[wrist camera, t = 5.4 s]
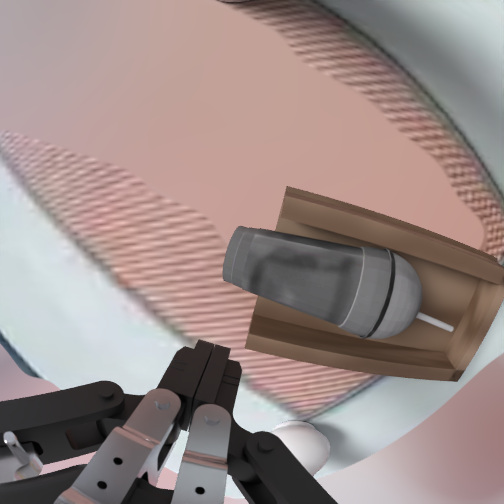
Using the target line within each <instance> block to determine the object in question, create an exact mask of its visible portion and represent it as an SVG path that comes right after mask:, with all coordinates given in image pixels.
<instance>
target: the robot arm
mask: <svg viewBox="0 0 504 504" xmlns="http://www.w3.org/2000/svg"><path fill="white" fill-rule="evenodd" d="M218 1H225V2H243V1H250V0H218ZM230 350H231V348H227V347H223V346H220V345H216V344H215V347H214V344H213V343H209V342H206V341H203V340H198V342H197V344H196V346H195V348H194V349H192V348H189V347H186V346H185V347H183V348H182V349H180V350H178V351H177V352H176V354H175V356H174V358H173V360H172V361H171V363H170V365H169V367H168V368H167V370H166V372H165V374H164V375H163V377H162V379H161V381H160V383H159V384H158V386H157V388H156V389H153V390H151V391H149V392H148V393H147V394H146V395H131V394H124V392H123V390H122V388H121V387H120V386H119V385H117V384H116V383H114V382H111V381H99V382H95V383H91V384H87V385H82V386H78V387H74V388H70V389H65V390H60V391H56V392H51V393H46V394H41V395H36V396H31V397H25V398H19V399H14V400H8V401H1V402H0V504H223V503H224V496H225V487H226V479H227V474H229V475H230V476H232V479H233V481H234V483H235V484H236V486H237V487H238V489H239V490H240V491H241V493H242V494H243V496H244V497H245V499H246V500H247V501H248V503H249V504H338V503H337V502H336V501H335V500H334V499H333V498H332V497H331V496H330V495H329V494H328V493H327V492H326V491H325V490H324V489H323V488H322V486H321V485H320V484H319V483H318V482H317V481H316V480H315V479H314V478H313V476H312V475H311V474H310V473H309V472H308V471H307V470H306V469H305V467H304V466H303V465H302V464H301V463H300V462H299V461H298V459H297V458H296V457H295V456H294V455H293V454H292V452H291V451H290V450H289V449H288V448H287V446H286V445H285V444H284V443H283V442H282V440H281V439H280V438H279V437H278V436H276V435H274V434H272V433H270V432H265V431H260V432H255V433H253V434H252V433H251V432H249V431H247V430H245V429H243V428H241V427H240V426H239V425H238V424H237V423H236V422H235V420H234V418H233V408H234V404H235V399H236V395H237V391H238V386H239V382H240V378H241V373H242V369H241V366H240V363H239V362H237V361H233V360H229V359H228V358H229V354H230ZM189 424H190V425H189ZM188 427H189V431H188V432H189V436H188V440H187V444H186V448H185V452H184V454H183V457H182V461H181V465H180V469H179V473H178V477H177V481H176V485H175V489H174V490H168V489H160V488H157V487H156V485H157V481H158V478H159V475H160V473H161V471H162V469H163V467H164V465H165V463H166V461H167V460H168V458H169V456H170V454H171V452H172V450H173V448H174V446H175V444H176V440H177V439H178V436H179V434H180V431H181V430H184V431H187V429H188ZM95 451H97V452H96V454H95V455H94V456H93V458H92V459H91V460H90V462H89V463H88V464H82V465H76V466H72V467H69V468H65V469H62V470H58V471H55V472H51V473H47V474H43V475H39V474H40V472H41V471H42V467H43V465H45V464H50V463H53V462H58V461H62V460H66V459H70V458H74V457H78V456H81V455H85V454H88V453H92V452H95Z"/></svg>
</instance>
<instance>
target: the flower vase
mask: <svg viewBox="0 0 504 504" xmlns="http://www.w3.org/2000/svg"><path fill="white" fill-rule="evenodd" d="M270 433H272V434H274V435H276V436H278V437H279V438H280V439H281V440H282V442H283V443H284V444H285V445H286V446H287V448H288V449H289V450H290V451H291V452H292V454H293V455H294V456H295V457H296V458H297V459H298V461H299V462H300V463H301V464H302V465H303V466H304V467H305V469H306V470H307V471H308V472H309V473H310V474H311V475H312V476H314V474H315V473H316V472H318V471H319V470H320V469H321V468H322V467H323V466H324V465H325V463H326V462H327V460H328V458H329V456H330V443H329V441H328V439H327V438H326V437H325V436H324V435H323V434H321V433H320V432H319V431H317V430H316V428H315V427H314V426H313V425H312V424H309V423H307V422H304V421H296V420H295V421H286V422H282V423H280V424H278V425H276V426H275V427H274V428H273V429H272V430H271V432H270Z"/></svg>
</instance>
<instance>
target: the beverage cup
mask: <svg viewBox="0 0 504 504" xmlns="http://www.w3.org/2000/svg"><path fill="white" fill-rule="evenodd" d="M223 279H224V281H226V282H230V283H233V284H234V285H236V286H238V287H240V288H242V289H243V290H246V291H248V292H251V293H253V294H256V295H258V296H261V297H264V298H266V299H269V300H271V301H274V302H276V303H279V304H282V305H284V306H287V307H289V308H292V309H295V310H297V311H300V312H303V313H305V314H308V315H311V316H313V317H316V318H319V319H322V320H324V321H327V322H330V323H333V324H335V325H338V327H339V328H341V329H343V330H345V331H348V332H350V333H352V334H355V335H358V336H359V337H360V338H361V339H366V338H371V339H382V338H388V337H391V336H394V335H397V334H399V333H401V332H402V331H404V330H405V329H406V328H407V327H408V326H410V325H411V324H412V322H413V321H414V320H415V318H419V319H421V320H423V321H426V322H428V323H431V324H433V325H435V326H438V327H440V328H443V329H445V330H447V331H450V332H452V331H453V326H451V325H448V324H446V323H444V322H441V321H439V320H437V319H435V318H432V317H430V316H428V315H425V314H423V313H421V312H419V310H420V307H421V304H422V286H421V282H420V279H419V276H418V274H417V273H416V271H415V269H414V268H413V267H412V266H411V265H410V264H409V263H408V262H407V261H406V260H405V259H403V258H402V257H401V256H399V255H397V254H395V253H393V252H391V251H390V250H388V249H387V248H385V249H379V248H374V247H363V246H362V247H355V246H350V245H345V244H340V243H335V242H330V241H325V240H320V239H314V238H309V237H304V236H299V235H293V234H288V233H283V232H277V231H272V230H266V229H261V228H260V229H255V228H246V227H243V226H239V227H238V228H237V229H236V230H235V232H234V234H233V236H232V237H231V240H230V242H229V245H228V248H227V251H226V255H225V259H224V264H223Z"/></svg>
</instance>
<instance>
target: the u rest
mask: <svg viewBox="0 0 504 504" xmlns="http://www.w3.org/2000/svg"><path fill="white" fill-rule="evenodd" d="M275 231H277V232H283V233H288V234H293V235H299V236H304V237H309V238H314V239H320V240H325V241H330V242H335V243H340V244H345V245H350V246H355V247H362V246H363V247H374V248H379V249H385V248H387V249H388V250H390V251H391V252H393V253H395V254H397V255H399V256H401V257H402V258H403V259H405V260H406V261H407V262H408V263H409V264H410V265H411V266H412V267H413V268H414V269H415V271H416V273H417V274H418V276H419V279H420V282H421V286H422V304H421V307H420V310H419V312H421V313H423V314H425V315H428V316H430V317H432V318H435V319H437V320H439V321H441V322H444V323H446V324H448V325H451V326H453V331H452V332H450V331H447V330H445V329H443V328H440V327H438V326H435V325H433V324H431V323H428V322H426V321H423V320H421V319H419V318H415V320H414V321H413V322H412V324H411V325H410V326H408V327H407V328H406V329H405V330H404V331H402V332H401V333H399V334H397V335H394V336H391V337H388V338H382V339H371V338H366V339H361V338H360V337H359V336H358V335H355V334H352V333H350V332H348V331H345V330H343V329H341V328H339V327H338V325H335V324H333V323H330V322H327V321H324V320H322V319H319V318H316V317H313V316H311V315H308V314H305V313H303V312H300V311H297V310H295V309H292V308H289V307H287V306H284V305H282V304H279V303H276V302H274V301H271V300H269V299H266V298H264V297H261V296H258V298H257V301H256V305H255V309H254V312H253V316H252V320H251V323H250V327H249V332H248V336H247V340H246V344H245V349H249V350H253V351H258V352H262V353H266V354H270V355H274V356H279V357H283V358H288V359H293V360H297V361H302V362H307V363H312V364H317V365H323V366H328V367H334V368H340V369H346V370H352V371H358V372H365V373H372V374H379V375H387V376H396V377H405V378H414V379H426V380H438V381H455V382H457V381H458V380H459V379H460V377H461V376H462V374H463V372H464V371H465V369H466V368H467V366H468V365H469V363H470V361H471V360H472V358H473V357H474V355H475V353H476V351H477V350H478V348H479V346H480V345H481V343H482V341H483V339H484V337H485V335H486V334H487V332H488V330H489V328H490V326H491V324H492V322H493V320H494V318H495V316H496V314H497V312H498V310H499V308H500V305H501V303H502V301H503V299H504V267H503V266H502V265H500V264H498V263H497V262H496V261H497V258H495V257H494V256H491V255H489V254H487V253H484V252H482V251H480V250H477V249H475V248H472V247H470V246H468V245H465V244H463V243H460V242H458V241H455V240H453V239H450V238H447V237H445V236H442V235H439V234H437V233H434V232H432V231H429V230H426V229H424V228H421V227H418V226H415V225H412V224H410V223H407V222H404V221H401V220H398V219H395V218H392V217H389V216H386V215H383V214H380V213H377V212H374V211H371V210H368V209H365V208H362V207H358V206H355V205H352V204H348V203H345V202H342V201H338V200H335V199H332V198H328V197H325V196H321V195H318V194H314V193H310V192H307V191H303V190H299V189H296V188H292V187H288V186H287V187H286V192H285V196H284V200H283V203H282V207H281V211H280V215H279V219H278V222H277V226H276V230H275Z"/></svg>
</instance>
